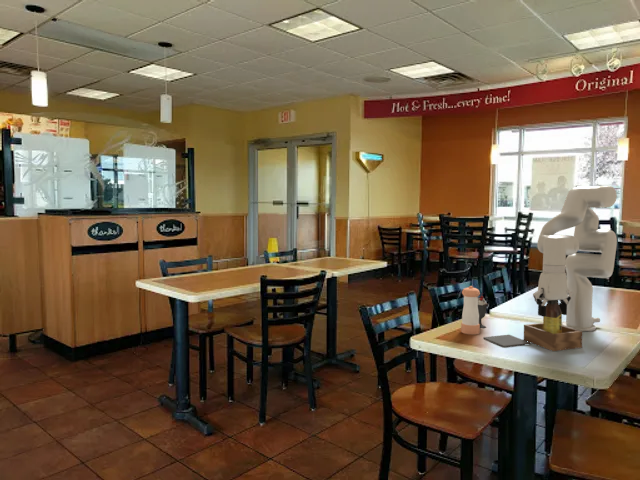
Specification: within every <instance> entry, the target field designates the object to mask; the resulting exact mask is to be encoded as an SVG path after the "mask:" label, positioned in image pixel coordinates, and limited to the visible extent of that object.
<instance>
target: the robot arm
mask: <svg viewBox="0 0 640 480" xmlns="http://www.w3.org/2000/svg"><path fill="white" fill-rule="evenodd" d="M617 196H618V194H617V191H616V188H614V187H613V186H612V185H611V186H610V185H608V186H607V185H602V186H601V185H600V186H599V185H598V186H595V185H594V186H577V187H572V188H571V189H569V191H568V192H567V194H566V198H565V200H564V203H563V206H562V209H561V211H560V213H559V214H558V215H556V216H554V217H552V218H551V219H550V220H549V221H547V222H546V223H545V224H544V225H543V226H542V228H541V231H540V233H539V236H538V240H537V250H538V251H539V252H540V253H542V257H543V258H542V272H541V273H540V275H539V279H538V284H537V285H538V286H537V290H536V291H535V292H534V293H532V297H533V299H534V302H535V303H536V305H538V306H537V315H538V316H540V317H542V318H543V317H545V316H546V305H547V301H551V300H558V303H559V306H560V309H561V312H562V316H566V317H565V321H564V322H563V321H562V325H563V326H566V327H569V328H572V329H576V330H579V331H582V332H592V331H595V330H596V325H594V324H596V323H600V322H601V319H600V318H599V317H593V296H594V295H593V293H594V288H593V284H592V282H591V281H590V280H589V278H596V279H597V278H599V279H608V278H610V277H612V275H613V272H614V268H615V261H616V260H615V259H616V251H617V246H618V245H617V244H618V242H617V241H618V240H617V235H616V234H617V233H615V232H614V231H613V230H611V229H606V228H604V229H603V228H601V229H600V228H599V222H600V219H599V216H598V215H597V214H596V212H595V211H594V210H593V209H592V208H602V209H603V208H610V207H612V206H614V205H615V204H616V202H617ZM571 228H574V230H573V231H574V233H573V235H566V234H565V235H563V234H556V233H558V232H562V231H564V230H568V229H571ZM598 228H599V229H598ZM578 251H580V252H578ZM583 252H591V253H583ZM594 252H595V254H594ZM596 253H597V254H596ZM598 253H601V254H598Z"/></svg>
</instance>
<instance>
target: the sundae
mask: <svg viewBox="0 0 640 480" xmlns="http://www.w3.org/2000/svg"><path fill="white" fill-rule="evenodd" d="M483 295H484V293H483V292H481V294H480V296H478V312H479V325H480V329H485V328H487V326H486V325H484V324H483V322H482V319H484V318H485V317H486V312H487V306H489V303H487V302H486V300H485V298H484V296H483Z"/></svg>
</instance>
